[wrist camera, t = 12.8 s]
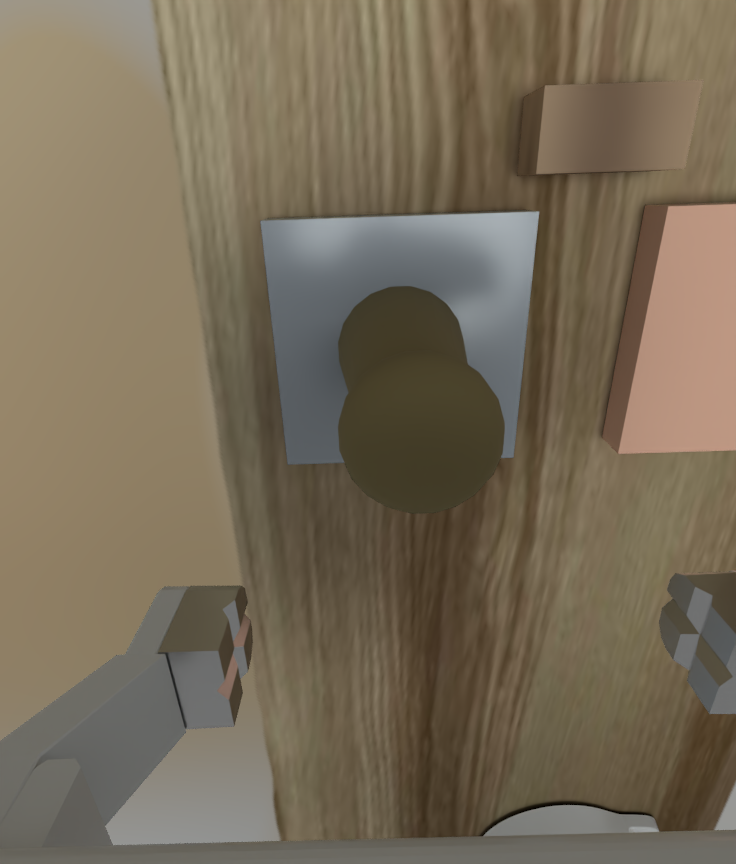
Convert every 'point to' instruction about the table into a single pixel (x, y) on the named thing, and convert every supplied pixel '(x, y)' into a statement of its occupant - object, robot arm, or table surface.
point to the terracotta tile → (678, 335)
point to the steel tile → (381, 268)
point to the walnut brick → (608, 127)
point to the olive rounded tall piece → (414, 404)
